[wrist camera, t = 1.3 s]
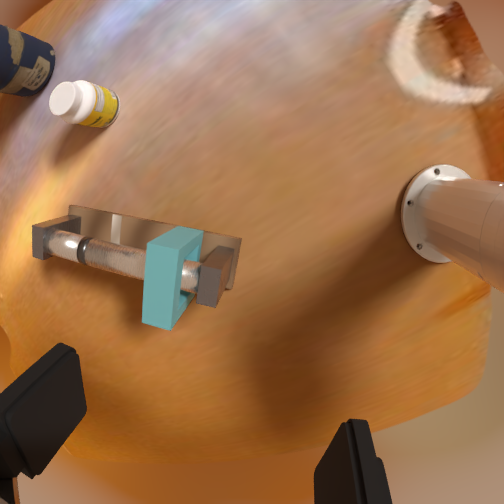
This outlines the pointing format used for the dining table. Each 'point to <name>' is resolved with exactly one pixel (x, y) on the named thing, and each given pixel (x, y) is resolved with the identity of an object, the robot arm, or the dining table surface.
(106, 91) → the supplement bottle
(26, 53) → the canister
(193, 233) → the teal rectangular frame
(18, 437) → the robot arm
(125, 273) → the rail
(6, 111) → the dining table surface
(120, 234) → the base board
